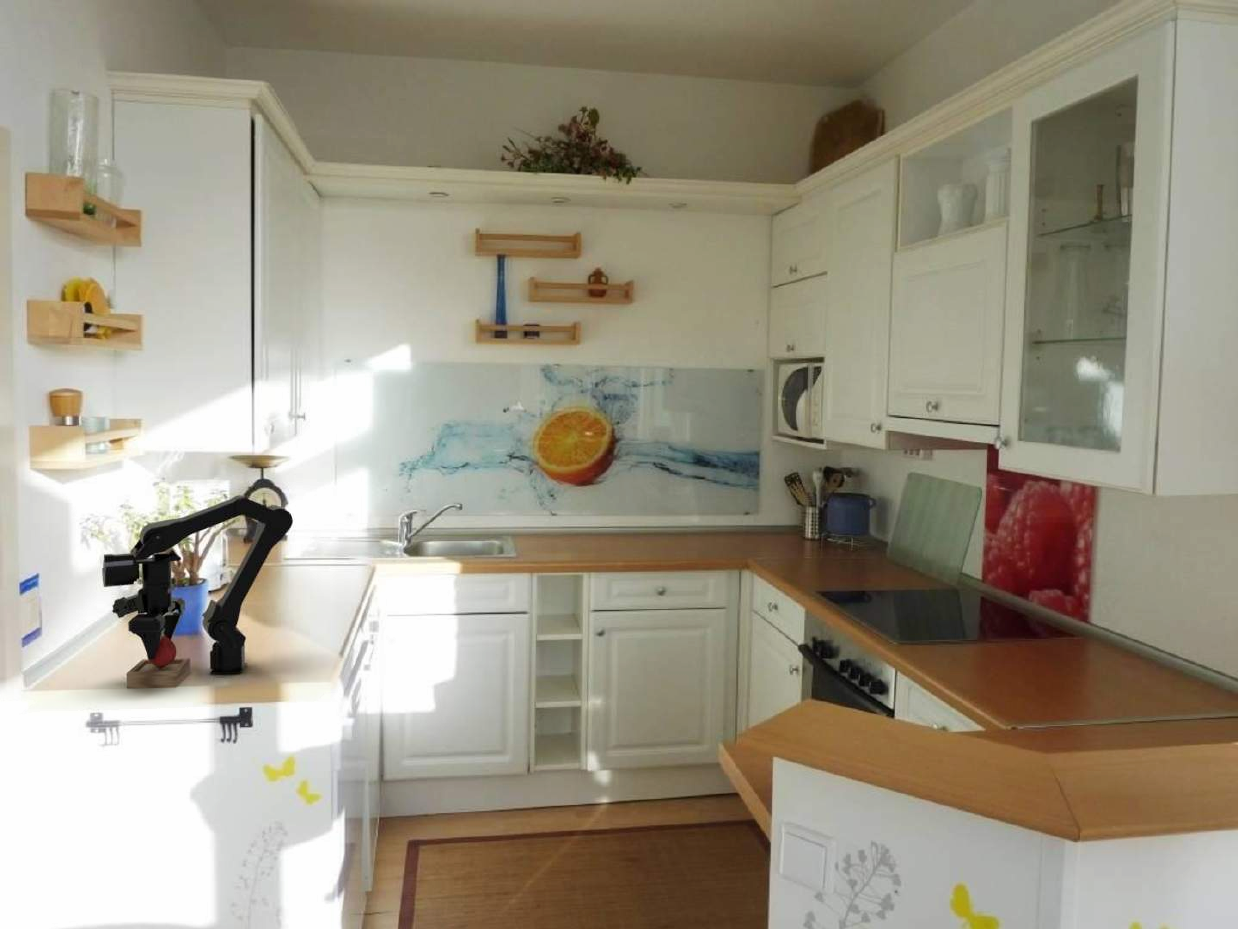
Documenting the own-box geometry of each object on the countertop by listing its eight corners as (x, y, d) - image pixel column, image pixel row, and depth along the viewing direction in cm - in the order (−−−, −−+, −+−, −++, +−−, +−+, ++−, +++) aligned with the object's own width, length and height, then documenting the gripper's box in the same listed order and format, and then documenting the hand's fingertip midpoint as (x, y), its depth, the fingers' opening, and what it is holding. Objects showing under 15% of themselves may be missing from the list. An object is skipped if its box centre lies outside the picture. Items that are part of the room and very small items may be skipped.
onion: (179, 665, 216) (182, 630, 215) (168, 674, 210) (171, 639, 209) (152, 662, 216) (154, 627, 214) (141, 671, 210) (143, 636, 209)
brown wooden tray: (190, 672, 219) (190, 658, 219) (176, 687, 209) (176, 672, 209) (143, 673, 217) (142, 659, 217) (126, 688, 208) (126, 673, 207)
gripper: (132, 573, 219) (134, 641, 221) (100, 592, 201) (103, 667, 202) (185, 573, 221) (186, 640, 222) (158, 592, 202) (160, 665, 204)
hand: (158, 653), depth 213 cm, fingers open, 9 cm apart
